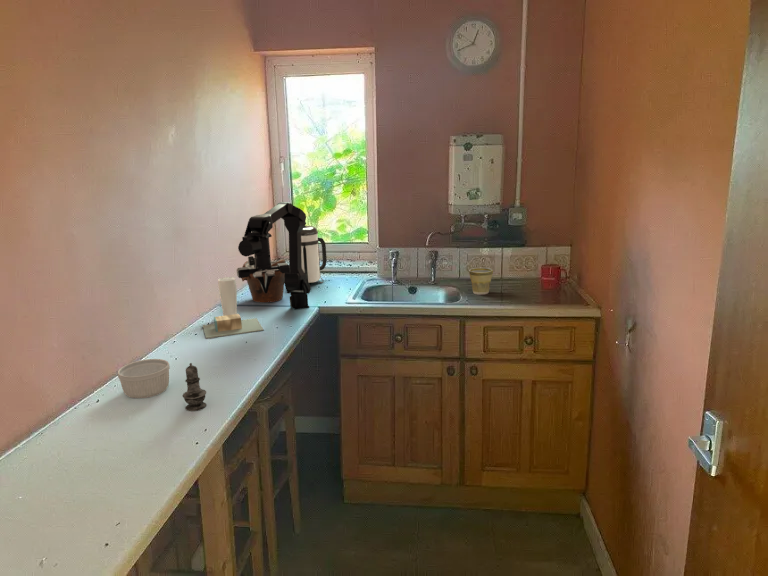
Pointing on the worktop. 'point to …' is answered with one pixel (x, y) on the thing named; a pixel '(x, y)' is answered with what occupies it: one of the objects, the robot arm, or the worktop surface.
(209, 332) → the rubber mat
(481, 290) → the ceramic cup
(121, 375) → the ramekin
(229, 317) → the beech block
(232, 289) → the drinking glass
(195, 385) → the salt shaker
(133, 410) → the worktop surface
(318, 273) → the coffee press
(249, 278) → the brown round container
